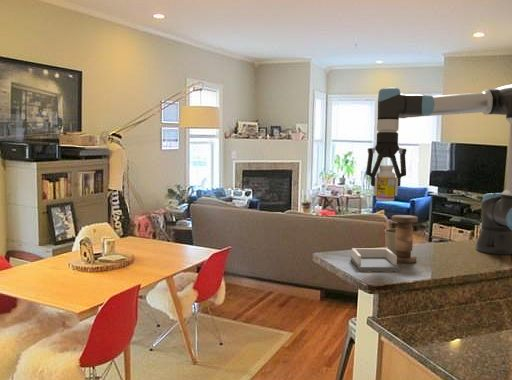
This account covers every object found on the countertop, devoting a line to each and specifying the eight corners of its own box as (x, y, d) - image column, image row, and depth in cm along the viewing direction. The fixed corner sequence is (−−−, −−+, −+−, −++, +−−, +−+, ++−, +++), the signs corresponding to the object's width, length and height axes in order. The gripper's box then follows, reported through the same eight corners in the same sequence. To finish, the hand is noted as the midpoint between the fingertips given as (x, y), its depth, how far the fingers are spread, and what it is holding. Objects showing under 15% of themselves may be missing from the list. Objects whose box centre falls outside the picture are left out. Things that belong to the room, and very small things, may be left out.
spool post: (411, 257, 180) (413, 215, 179) (419, 263, 171) (421, 218, 170) (387, 257, 180) (388, 214, 179) (394, 263, 171) (395, 218, 170)
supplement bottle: (371, 199, 178) (373, 165, 177) (386, 199, 181) (387, 164, 180) (383, 201, 172) (384, 165, 171) (398, 201, 175) (399, 165, 173)
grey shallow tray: (386, 260, 176) (387, 248, 175) (399, 271, 160) (399, 258, 159) (351, 260, 176) (351, 247, 175) (360, 271, 160) (360, 258, 159)
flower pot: (381, 253, 186) (381, 231, 186) (386, 249, 195) (387, 227, 194) (406, 256, 182) (406, 233, 181) (410, 251, 190) (411, 229, 190)
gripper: (411, 132, 178) (409, 194, 180) (358, 131, 178) (356, 193, 180) (418, 131, 170) (415, 196, 172) (362, 131, 171) (360, 195, 173)
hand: (385, 195), depth 176 cm, fingers closed on supplement bottle, 7 cm apart
